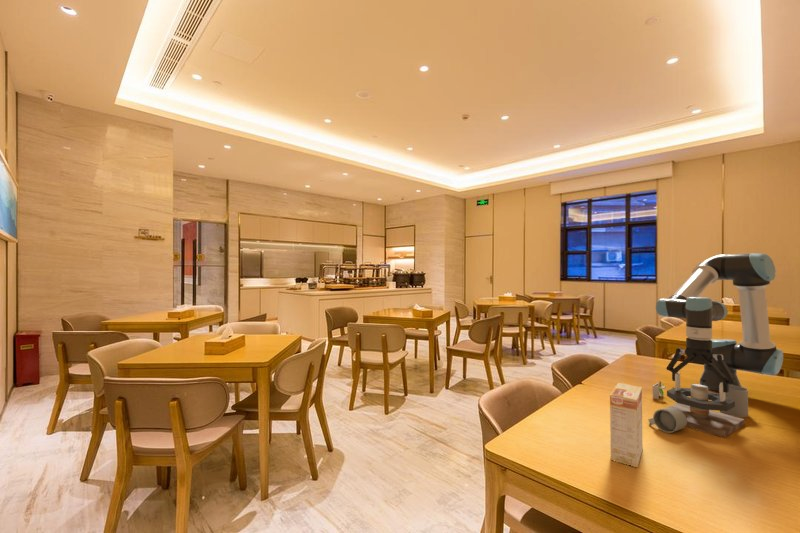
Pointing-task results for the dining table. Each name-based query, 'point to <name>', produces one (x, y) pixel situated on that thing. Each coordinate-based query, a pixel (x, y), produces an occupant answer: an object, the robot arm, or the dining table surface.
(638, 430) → the coffeecake box
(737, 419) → the pipe stand
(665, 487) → the dining table surface
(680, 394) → the ring
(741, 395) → the cup
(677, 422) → the ceramic mug
